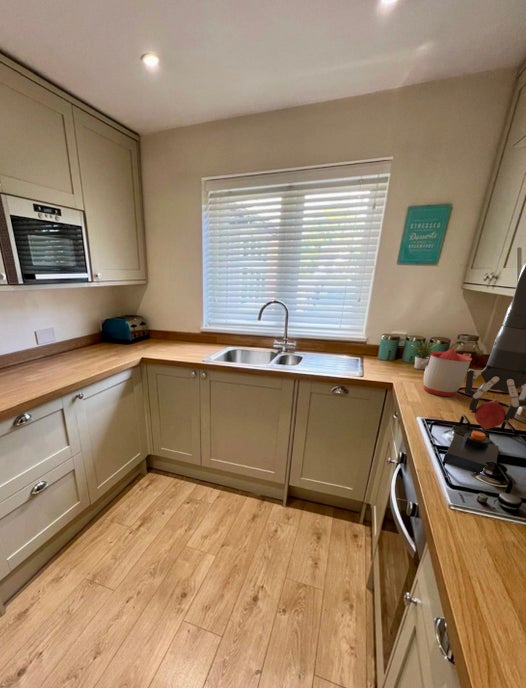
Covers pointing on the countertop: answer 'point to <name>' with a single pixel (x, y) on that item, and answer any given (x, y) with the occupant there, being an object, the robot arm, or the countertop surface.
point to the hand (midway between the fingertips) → (489, 415)
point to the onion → (490, 414)
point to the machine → (471, 453)
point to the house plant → (423, 354)
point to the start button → (477, 435)
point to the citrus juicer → (445, 372)
